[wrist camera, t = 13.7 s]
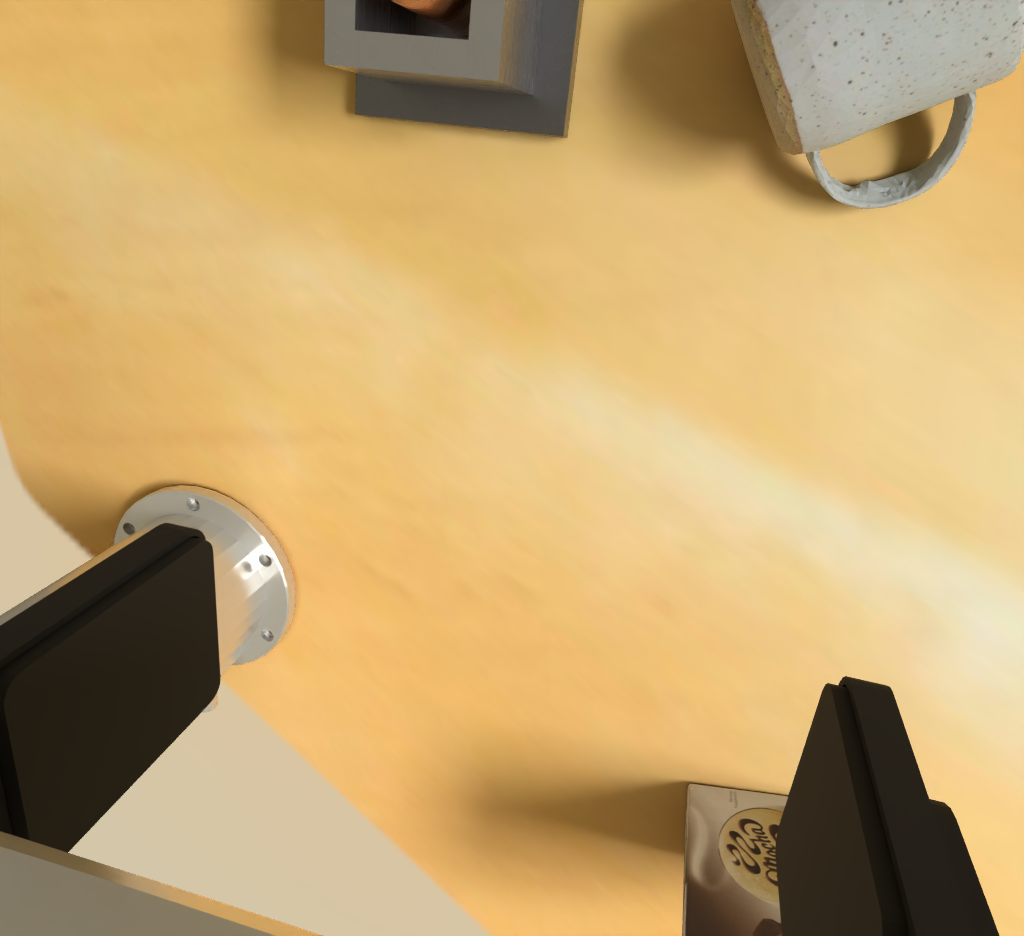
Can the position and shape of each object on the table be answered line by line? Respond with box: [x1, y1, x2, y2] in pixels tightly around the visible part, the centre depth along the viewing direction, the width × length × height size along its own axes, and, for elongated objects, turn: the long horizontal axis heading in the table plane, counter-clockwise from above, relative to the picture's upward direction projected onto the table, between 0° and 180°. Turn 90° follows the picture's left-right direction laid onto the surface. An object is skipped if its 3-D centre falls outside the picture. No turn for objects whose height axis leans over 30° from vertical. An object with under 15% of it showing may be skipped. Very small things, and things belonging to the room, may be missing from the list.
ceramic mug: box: [730, 0, 1024, 209], centre depth 28 cm, size 11×8×8 cm
